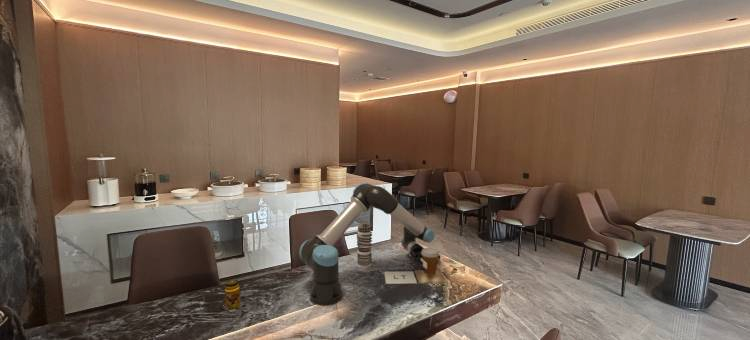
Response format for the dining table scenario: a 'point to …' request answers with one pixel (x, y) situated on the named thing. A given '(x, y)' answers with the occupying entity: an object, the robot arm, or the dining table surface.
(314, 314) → the dining table surface
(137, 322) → the dining table surface
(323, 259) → the robot arm
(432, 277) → the oak coaster
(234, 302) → the condiment
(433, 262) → the disposable coffee cup
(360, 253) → the decorative candle
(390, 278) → the mat
